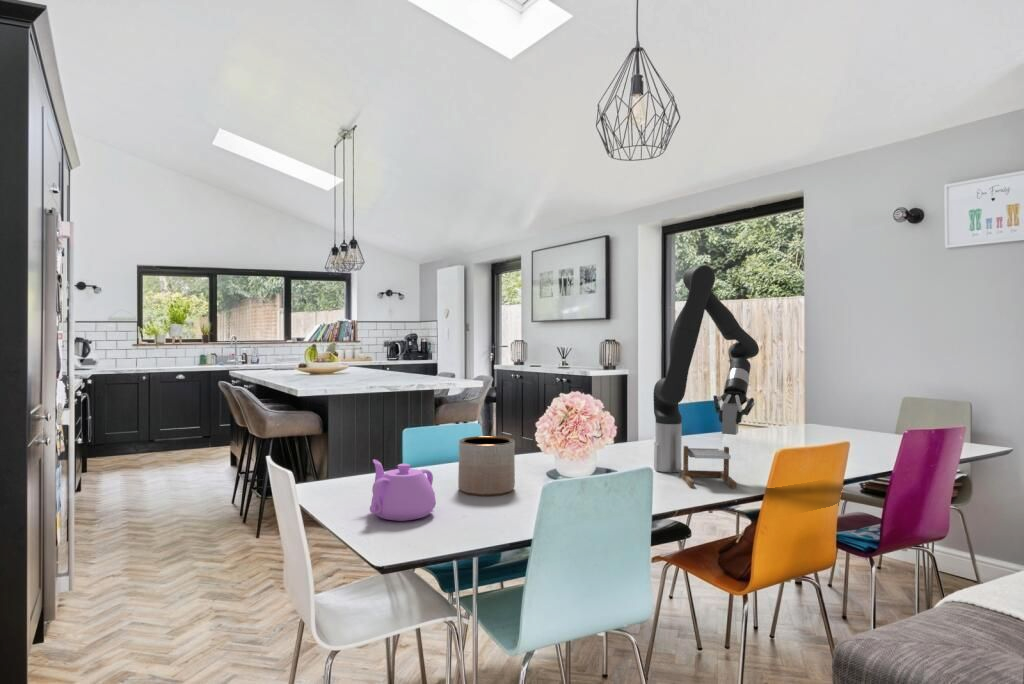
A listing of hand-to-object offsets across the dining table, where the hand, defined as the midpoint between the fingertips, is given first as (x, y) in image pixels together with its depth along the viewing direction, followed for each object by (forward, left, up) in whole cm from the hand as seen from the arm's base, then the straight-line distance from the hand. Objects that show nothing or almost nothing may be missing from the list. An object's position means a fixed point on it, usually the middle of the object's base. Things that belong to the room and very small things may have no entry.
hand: (729, 421), depth 223 cm
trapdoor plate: (-8, -3, -12) cm, 15 cm away
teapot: (-101, -50, -20) cm, 114 cm away
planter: (-80, -21, -20) cm, 85 cm away
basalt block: (+1, +2, -4) cm, 5 cm away
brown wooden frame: (-8, -3, -20) cm, 22 cm away
